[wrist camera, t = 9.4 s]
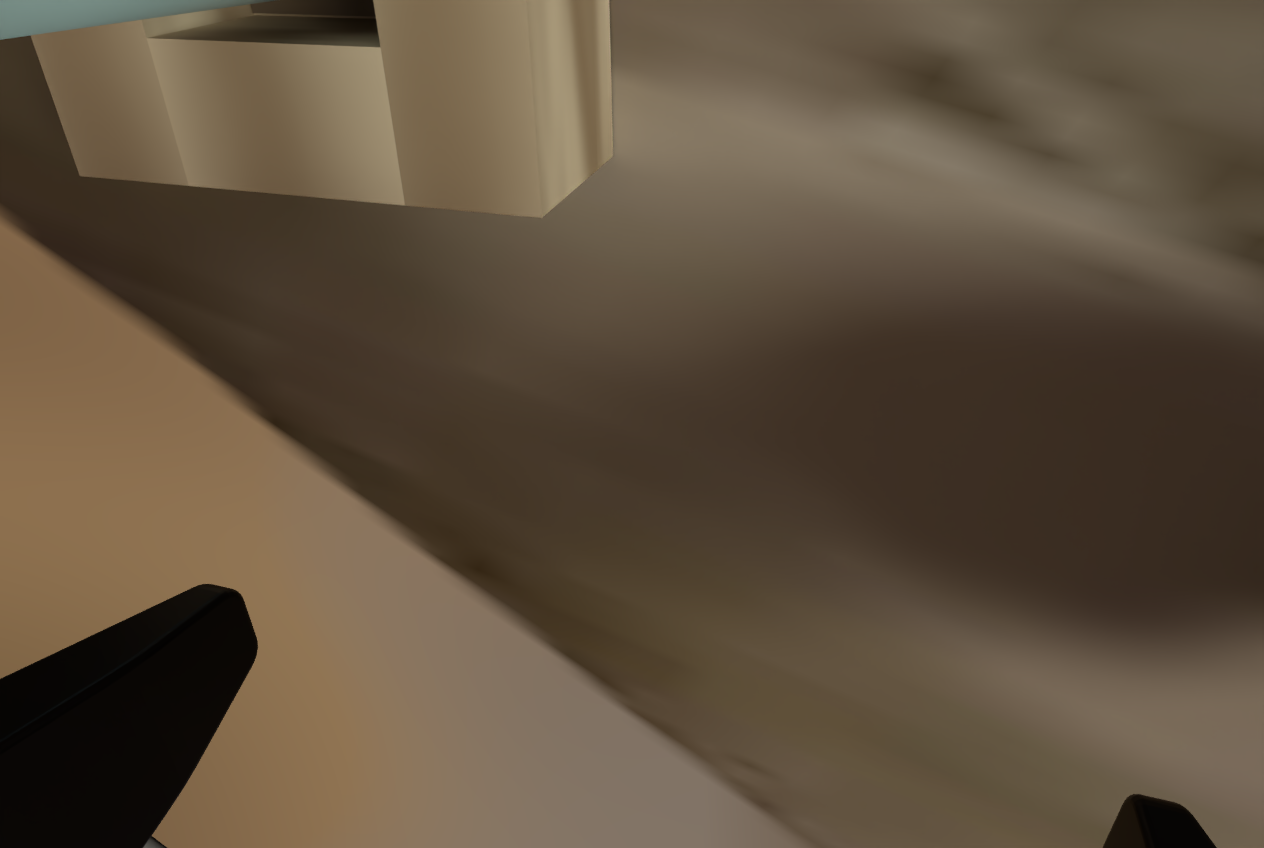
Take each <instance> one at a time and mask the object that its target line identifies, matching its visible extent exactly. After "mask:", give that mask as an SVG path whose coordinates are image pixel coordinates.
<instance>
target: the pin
mask: <svg viewBox="0 0 1264 848" xmlns="http://www.w3.org/2000/svg"><path fill="white" fill-rule="evenodd" d="M269 1H276V0H0V40H2V39H9V38H16V37H23V36H30V35H37V34H44V33H51V32H58V31H65V30H72V29H79V28H86V27H93V26H100V25H107V24H114V23H121V22H128V21H136V20H143V19H150V18H157V17H164V16H171V15H178V14H185V13H192V12H199V11H206V10H213V9H220V8H227V7H234V6H241V5H248V4H255V3H262V2H269Z"/></svg>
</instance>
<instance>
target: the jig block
mask: <svg viewBox="0 0 1264 848" xmlns="http://www.w3.org/2000/svg"><path fill="white" fill-rule="evenodd" d="M31 38H32V41H33V44H34V47H35V50H36V52H37V55H38V58H39V61H40V64H41V67H42V70H43V72H44V75H45V78H46V81H47V84H48V87H49V90H50V92H51V95H52V98H53V101H54V104H55V107H56V109H57V112H58V115H59V118H60V121H61V124H62V127H63V129H64V132H65V135H66V138H67V141H68V144H69V147H70V149H71V152H72V155H73V158H74V161H75V164H76V166H77V169H78V172H79V175H80V176H85V177H97V178H108V179H119V180H130V181H141V182H152V183H163V184H174V185H185V186H196V187H207V188H218V189H229V190H240V191H251V192H262V193H273V194H284V195H295V196H306V197H317V198H328V199H339V200H350V201H361V202H372V203H383V204H394V205H405V206H416V207H427V208H438V209H449V210H460V211H471V212H482V213H493V214H504V215H515V216H526V217H537V218H542V217H544V216H545V215H546V214H547V213H548V212H549V211H550V210H552V209H553V208H554V207H555V206H556V205H557V204H559V203H560V202H561V201H562V200H563V199H564V198H565V197H567V196H568V195H569V194H570V193H571V192H572V191H573V190H575V189H576V188H577V187H578V186H579V185H580V184H582V183H583V182H584V181H585V180H586V179H587V178H588V177H590V176H591V175H592V174H593V173H594V172H595V171H597V170H598V169H599V168H600V167H601V166H602V165H603V164H605V163H606V162H607V161H608V160H609V159H610V158H612V157H613V131H612V91H611V50H610V10H609V0H276V1H269V2H262V3H255V4H248V5H241V6H234V7H227V8H220V9H213V10H206V11H199V12H192V13H185V14H178V15H171V16H164V17H157V18H150V19H143V20H136V21H128V22H121V23H114V24H107V25H100V26H93V27H86V28H79V29H72V30H65V31H58V32H51V33H44V34H37V35H31Z"/></svg>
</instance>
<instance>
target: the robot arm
mask: <svg viewBox="0 0 1264 848" xmlns="http://www.w3.org/2000/svg"><path fill="white" fill-rule="evenodd" d="M257 649H258V643H257V638H256V635H255V632H254V629H253V626H252V623H251V620H250V617H249V614H248V611H247V608H246V605H245V602H244V600H243V597H242V596H241V594H240V593H239V592H237V591H236V590H234V589H230V588H226V587H221V586H217V585H212V584H202V585H198V586H196V587H193V588H191V589H189V590H187V591H185V592H183V593H181V594H178V595H176V596H174V597H173V598H170V599H168V600H166V601H164V602H162V603H160V604H158V605H155V606H153V607H151V608H149V609H147V610H145V611H143V612H141V613H139V614H136V615H134V616H132V617H130V618H128V619H126V620H124V621H122V622H119V623H117V624H115V625H113V626H111V627H109V628H107V629H105V630H103V631H100V632H98V633H96V634H94V635H92V636H90V637H88V638H86V639H84V640H81V641H79V642H77V643H75V644H73V645H71V646H69V647H67V648H65V649H62V650H60V651H58V652H56V653H54V654H52V655H50V656H48V657H46V658H44V659H41V660H39V661H37V662H35V663H33V664H31V665H29V666H27V667H24V668H23V669H20V670H18V671H16V672H14V673H12V674H10V675H8V676H5V677H3V678H1V679H0V848H143V847H144V846H145V845H146V843H147V842H148V840H149V839H150V837H151V836H152V834H153V833H154V831H155V830H156V828H157V827H158V825H159V824H160V823H161V821H162V820H163V818H164V817H165V815H166V814H167V812H168V811H169V809H170V808H171V806H172V805H173V803H174V802H175V800H176V799H177V797H178V796H179V794H180V793H181V791H182V789H183V788H184V786H185V785H186V783H187V781H188V780H189V778H190V776H191V775H192V773H193V771H194V769H195V768H196V766H197V764H198V763H199V761H200V759H201V757H202V755H203V754H204V752H205V750H206V748H207V746H208V744H209V743H210V741H211V739H212V737H213V736H214V734H215V732H216V730H217V728H218V727H219V725H220V723H221V721H222V719H223V718H224V716H225V714H226V712H227V710H228V709H229V707H230V705H231V703H232V701H233V700H234V698H235V696H236V694H237V692H238V690H239V689H240V687H241V685H242V683H243V681H244V680H245V678H246V676H247V674H248V673H249V671H250V669H251V667H252V665H253V663H254V661H255V658H256V655H257ZM1103 848H1216V846H1215V845H1214V843H1213V842H1212V841H1211V839H1210V838H1209V837H1208V835H1207V834H1206V833H1205V831H1204V830H1203V829H1202V827H1201V826H1200V825H1199V823H1198V822H1197V820H1196V819H1195V818H1194V816H1193V815H1192V814H1191V813H1190V812H1189V811H1188V810H1187V809H1186V808H1185V807H1183V806H1182V805H1180V804H1178V803H1175V802H1171V801H1167V800H1162V799H1158V798H1154V797H1149V796H1145V795H1140V794H1133V795H1130V796H1129V797H1127V798H1126V800H1125V801H1124V803H1123V805H1122V807H1121V809H1120V811H1119V813H1118V816H1117V818H1116V820H1115V822H1114V824H1113V826H1112V829H1111V831H1110V833H1109V835H1108V837H1107V839H1106V841H1105V844H1104V846H1103Z"/></svg>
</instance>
